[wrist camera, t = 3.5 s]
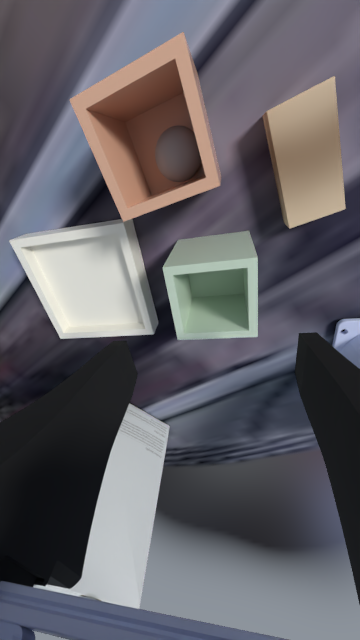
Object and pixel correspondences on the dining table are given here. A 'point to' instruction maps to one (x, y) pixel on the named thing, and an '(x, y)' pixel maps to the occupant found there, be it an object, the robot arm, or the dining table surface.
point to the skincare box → (124, 514)
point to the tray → (90, 279)
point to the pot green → (213, 286)
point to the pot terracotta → (147, 127)
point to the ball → (178, 154)
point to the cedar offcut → (307, 154)
